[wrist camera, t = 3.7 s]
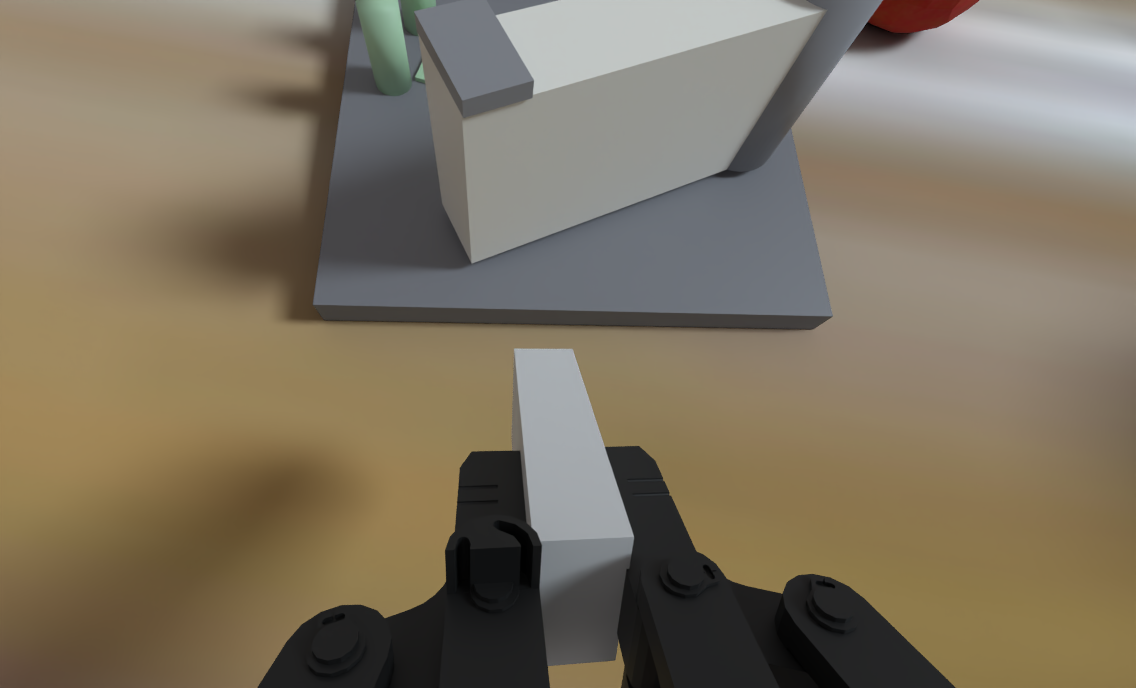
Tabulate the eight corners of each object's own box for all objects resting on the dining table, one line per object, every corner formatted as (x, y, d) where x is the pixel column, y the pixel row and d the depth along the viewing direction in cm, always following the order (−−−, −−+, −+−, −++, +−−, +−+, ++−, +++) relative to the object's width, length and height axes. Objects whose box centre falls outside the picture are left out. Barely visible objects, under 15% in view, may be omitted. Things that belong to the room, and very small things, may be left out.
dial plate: (745, 2, 32) (794, -101, 27) (813, 329, 25) (896, 273, 20) (371, -38, 29) (345, -162, 24) (323, 319, 22) (273, 251, 17)
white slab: (743, 94, 27) (858, -110, 18) (788, 156, 26) (931, -31, 17) (437, 194, 22) (406, -14, 14) (476, 273, 21) (467, 100, 13)
